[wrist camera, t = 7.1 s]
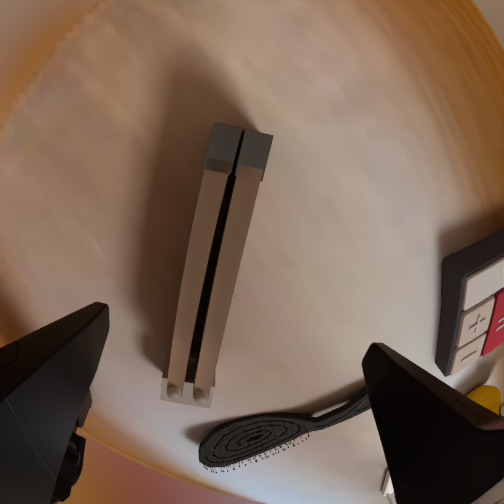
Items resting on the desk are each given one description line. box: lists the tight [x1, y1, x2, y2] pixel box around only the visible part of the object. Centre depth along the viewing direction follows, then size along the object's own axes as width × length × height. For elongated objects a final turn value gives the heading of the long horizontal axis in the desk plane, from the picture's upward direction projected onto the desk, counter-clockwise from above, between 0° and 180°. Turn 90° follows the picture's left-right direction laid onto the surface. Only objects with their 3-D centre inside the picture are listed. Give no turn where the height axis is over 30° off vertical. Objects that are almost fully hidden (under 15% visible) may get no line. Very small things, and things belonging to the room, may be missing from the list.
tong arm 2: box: [166, 122, 242, 400], centre depth 19 cm, size 1×19×6 cm, turn 165°
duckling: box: [466, 385, 504, 416], centre depth 29 cm, size 11×5×10 cm, turn 102°
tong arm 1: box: [192, 129, 273, 404], centre depth 19 cm, size 1×19×6 cm, turn 166°
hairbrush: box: [199, 388, 371, 473], centre depth 29 cm, size 8×4×25 cm
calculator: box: [435, 229, 504, 377], centre depth 25 cm, size 11×4×15 cm
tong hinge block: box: [160, 353, 215, 408], centre depth 24 cm, size 4×3×3 cm
